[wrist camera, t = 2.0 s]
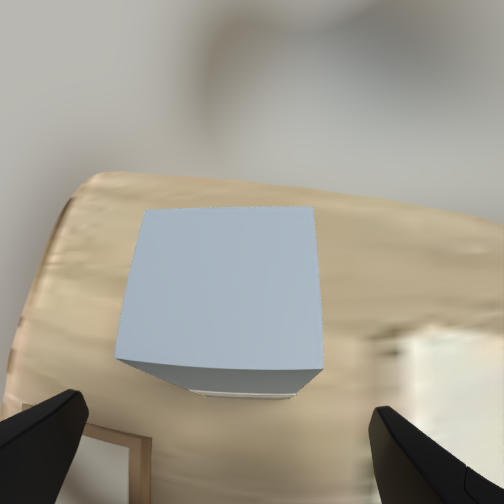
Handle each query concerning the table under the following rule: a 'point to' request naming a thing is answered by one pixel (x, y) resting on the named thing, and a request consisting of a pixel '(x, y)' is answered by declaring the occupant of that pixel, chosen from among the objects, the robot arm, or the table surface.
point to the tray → (108, 468)
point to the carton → (225, 301)
